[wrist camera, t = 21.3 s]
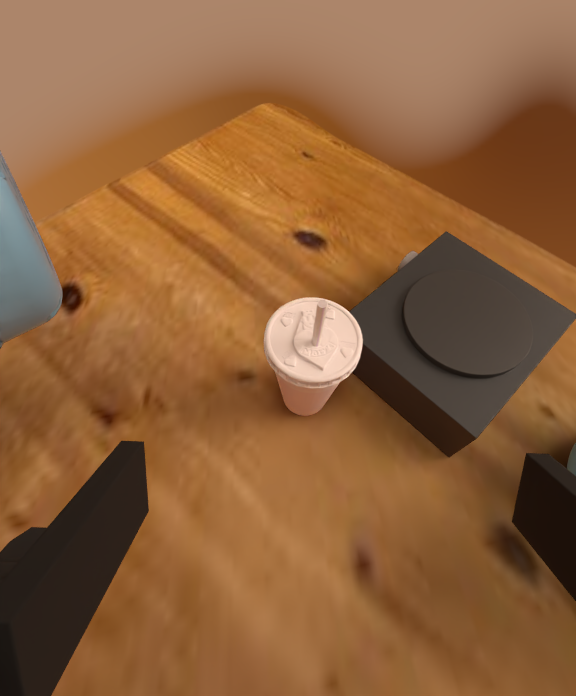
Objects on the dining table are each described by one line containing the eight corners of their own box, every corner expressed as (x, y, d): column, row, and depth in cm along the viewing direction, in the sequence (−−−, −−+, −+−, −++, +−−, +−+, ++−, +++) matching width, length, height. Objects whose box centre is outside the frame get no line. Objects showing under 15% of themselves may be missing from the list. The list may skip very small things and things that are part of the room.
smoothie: (274, 438, 31) (272, 356, 19) (260, 368, 35) (251, 258, 22) (351, 423, 32) (396, 335, 20) (331, 356, 35) (360, 243, 23)
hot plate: (320, 344, 36) (326, 308, 31) (419, 260, 41) (438, 219, 36) (449, 457, 31) (480, 435, 26) (543, 346, 36) (583, 311, 31)
